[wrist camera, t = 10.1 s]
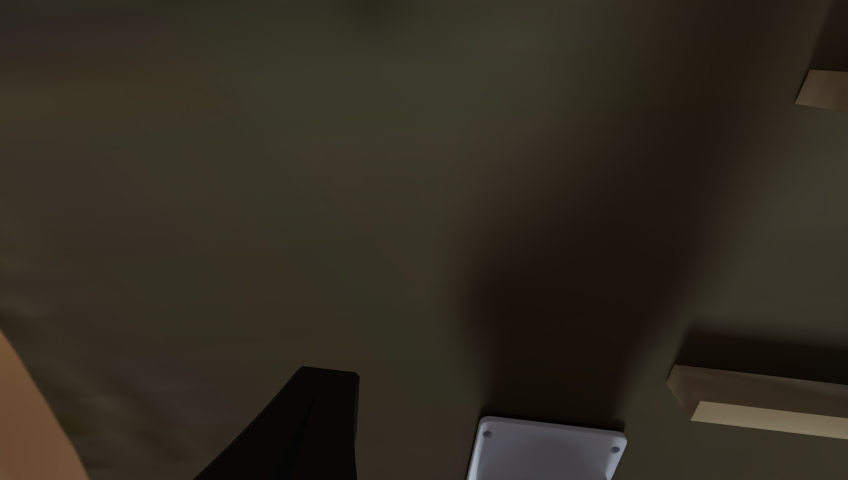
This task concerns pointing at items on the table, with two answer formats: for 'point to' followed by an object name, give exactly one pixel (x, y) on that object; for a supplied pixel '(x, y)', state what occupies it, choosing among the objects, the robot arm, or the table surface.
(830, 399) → the walled pen
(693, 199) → the table surface
